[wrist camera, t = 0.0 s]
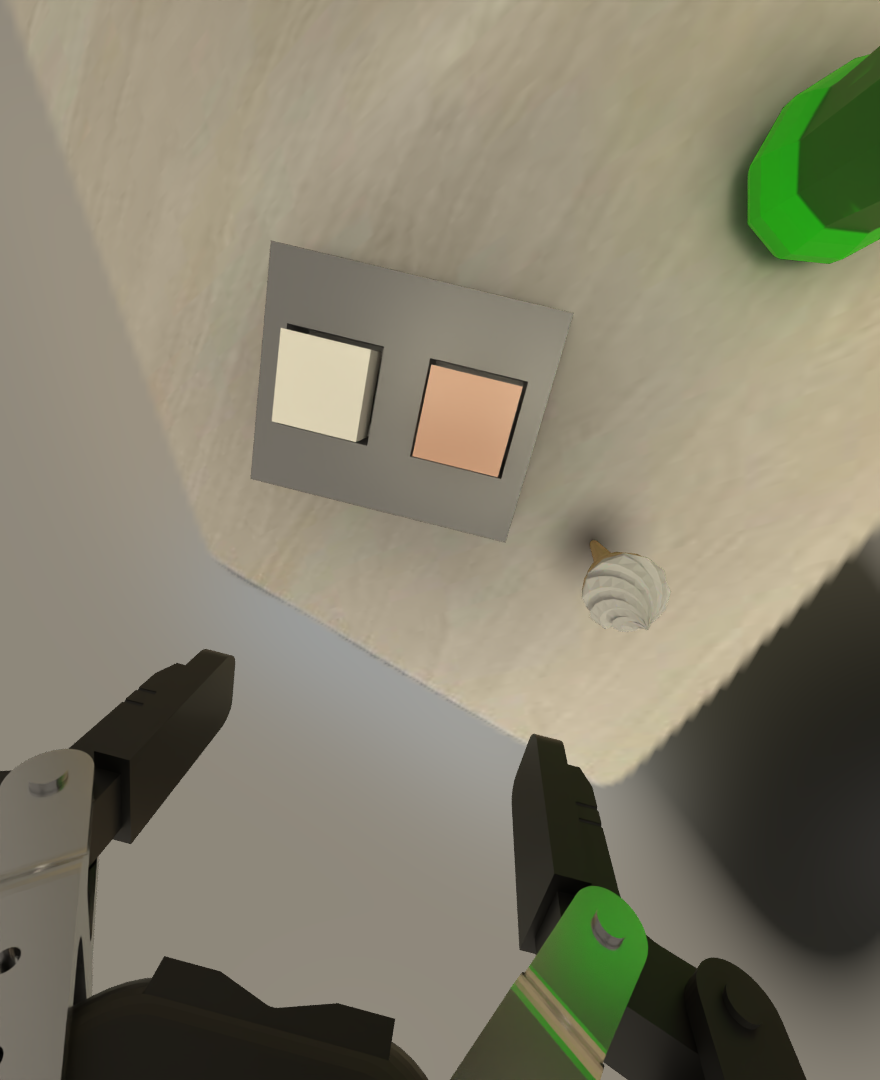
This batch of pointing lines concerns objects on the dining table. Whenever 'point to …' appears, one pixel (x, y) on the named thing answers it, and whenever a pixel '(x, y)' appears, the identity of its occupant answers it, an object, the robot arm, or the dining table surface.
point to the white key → (324, 385)
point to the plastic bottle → (821, 169)
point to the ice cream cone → (624, 590)
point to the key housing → (404, 386)
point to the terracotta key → (466, 420)
